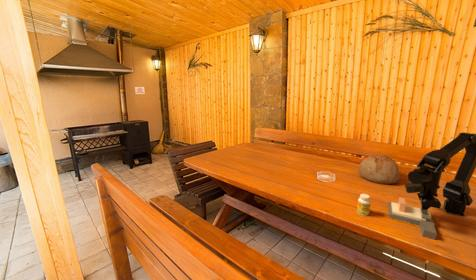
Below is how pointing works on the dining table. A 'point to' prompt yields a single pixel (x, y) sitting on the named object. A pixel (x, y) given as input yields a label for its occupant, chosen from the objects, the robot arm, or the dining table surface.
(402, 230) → the dining table surface
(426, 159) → the robot arm
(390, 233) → the dining table surface
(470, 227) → the dining table surface
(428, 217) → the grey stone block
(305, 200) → the dining table surface
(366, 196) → the supplement bottle
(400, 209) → the cover
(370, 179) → the bread
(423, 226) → the case
